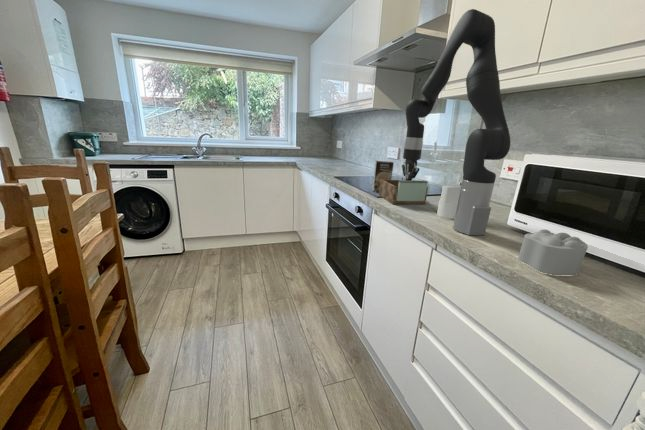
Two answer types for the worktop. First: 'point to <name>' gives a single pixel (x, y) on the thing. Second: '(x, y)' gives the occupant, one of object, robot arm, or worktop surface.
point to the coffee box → (381, 173)
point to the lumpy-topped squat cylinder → (553, 252)
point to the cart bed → (394, 192)
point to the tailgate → (411, 190)
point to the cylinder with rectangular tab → (448, 202)
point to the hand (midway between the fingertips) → (407, 186)
